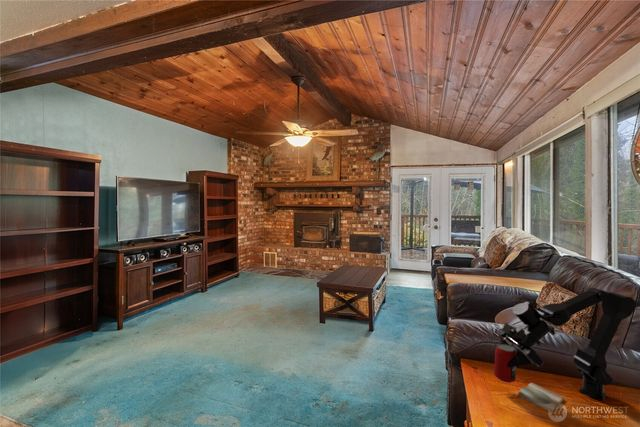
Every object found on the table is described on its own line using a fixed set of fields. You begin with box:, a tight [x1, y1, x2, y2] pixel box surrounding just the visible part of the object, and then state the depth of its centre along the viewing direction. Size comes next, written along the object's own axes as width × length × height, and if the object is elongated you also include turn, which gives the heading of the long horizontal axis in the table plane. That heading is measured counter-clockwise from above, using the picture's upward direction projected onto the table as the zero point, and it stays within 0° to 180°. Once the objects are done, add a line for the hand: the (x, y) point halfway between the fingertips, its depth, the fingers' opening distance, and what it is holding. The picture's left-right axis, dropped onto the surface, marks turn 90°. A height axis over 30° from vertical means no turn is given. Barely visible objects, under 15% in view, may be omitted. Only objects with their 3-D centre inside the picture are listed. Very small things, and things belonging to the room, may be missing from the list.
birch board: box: [517, 382, 564, 413], centre depth 105 cm, size 12×10×1 cm
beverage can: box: [493, 343, 517, 383], centre depth 109 cm, size 7×7×12 cm
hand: (501, 361), depth 109 cm, fingers closed on beverage can, 7 cm apart
